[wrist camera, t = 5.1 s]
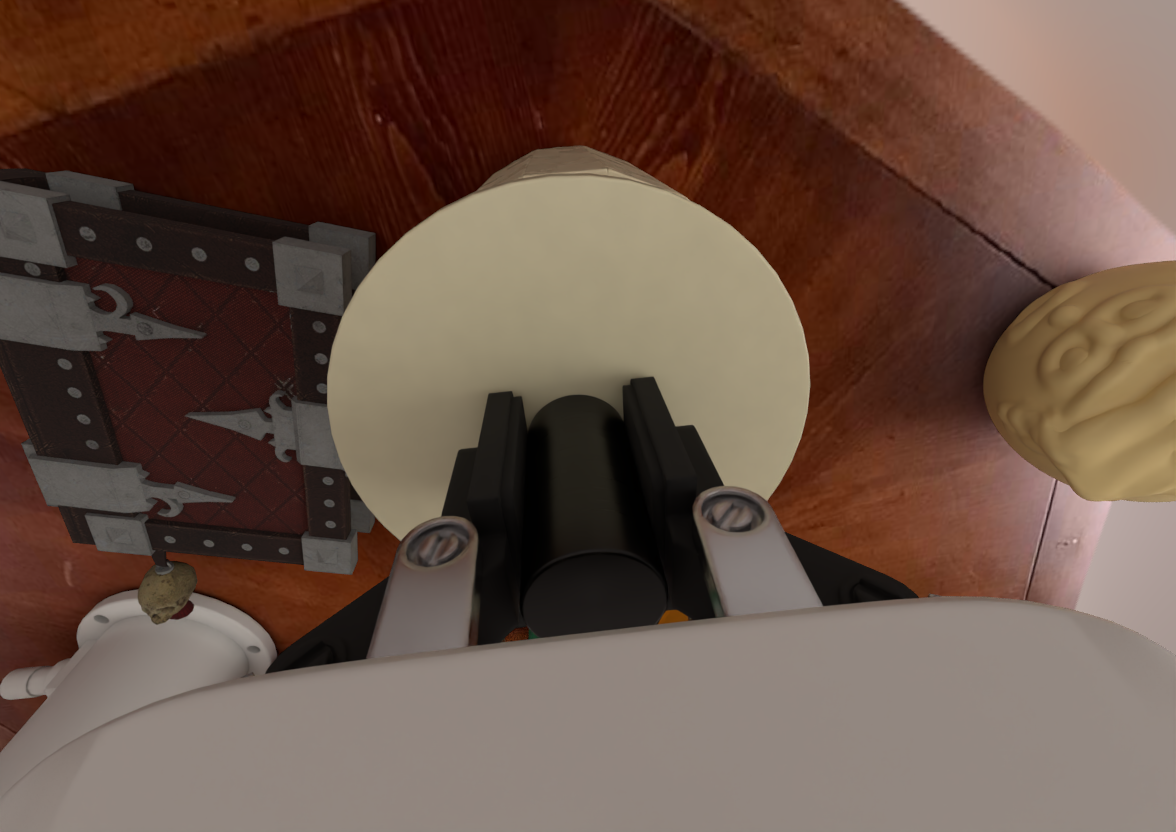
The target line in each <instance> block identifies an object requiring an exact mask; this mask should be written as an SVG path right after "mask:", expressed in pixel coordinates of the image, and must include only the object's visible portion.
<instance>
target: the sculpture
mask: <svg viewBox="0 0 1176 832" xmlns="http://www.w3.org/2000/svg"><path fill="white" fill-rule="evenodd" d="M983 391H984V399H985V403H986V407H987V410H988V413H989V415H990V417H991V419H992V421H993V423H994V425H995V427H996V428H997V430H998V431H999V433H1000V434H1001V436H1002V437H1003V438H1004V439H1005V441H1006V442H1007V443H1008V444H1009V445H1010V446H1011V447H1012V448H1013V449H1014V450H1015V451H1016V452H1017V453H1018V454H1019V455H1020V456H1021V457H1023V458H1024V459H1025V460H1026V461H1028V462H1029V463H1030V464H1032V465H1033V466H1035V467H1036V468H1038V469H1039V470H1041V471H1042V472H1044V473H1046V474H1047V475H1049V476H1051V477H1053V478H1055V479H1057V480H1059V481H1061V482H1063V483H1065V484H1067V485H1070V487H1071V488H1072V490H1073V491H1074V492H1075V493H1076V494H1077V495H1078V496H1080V497H1081V498H1083V499H1086V500H1089V501H1117V500H1127V501H1138V502H1170V501H1176V261H1162V262H1152V263H1143V264H1135V265H1128V266H1122V267H1117V268H1112V269H1108V270H1104V271H1101V272H1097V273H1094V274H1091V275H1088V276H1085V277H1083V278H1080V279H1078V280H1075V281H1073V282H1068V283H1065V284H1062V285H1060V286H1058V287H1056V288H1054V289H1053V290H1051V291H1049V292H1048V293H1046V294H1044V295H1043V296H1041V297H1040V298H1038V299H1037V300H1035V301H1034V302H1032V303H1031V304H1030V305H1028V306H1027V307H1026V308H1025V309H1024V310H1023V311H1022V312H1021V313H1020V314H1019V315H1018V316H1017V318H1016V319H1015V320H1014V321H1013V322H1012V323H1011V324H1010V326H1009V327H1008V328H1007V329H1006V330H1005V331H1004V333H1003V334H1002V335H1001V337H1000V338H999V340H998V341H997V343H996V345H995V346H994V348H993V350H992V352H991V354H990V356H989V359H988V362H987V365H986V368H985V373H984V380H983Z"/></svg>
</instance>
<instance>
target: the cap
mask: <svg viewBox="0 0 1176 832" xmlns="http://www.w3.org/2000/svg"><path fill="white" fill-rule="evenodd" d="M644 377H654V378H655V380H656V383H657V385H658V387H659V390H660V392H661V394H662V396H663V399H664V401H665V403H666V406H667V408H668V410H669V413H670V415H671V417H672V420H673V422H674V424H675V426H685V425H694V427H695V428H696V430H697V432H698V434H699V436H700V438H701V440H702V442H703V444H704V446H705V448H706V450H707V452H708V454H709V456H710V458H711V460H712V462H713V464H714V466H715V468H716V470H717V472H718V474H719V476H720V478H721V480H722V482H723V484H724V486H736V487H740V488H745V489H748V490H750V491H752V492H755V493H757V494H758V495H760V496H761V497H763V498H764V499H765V500H766V501H767V500H768V499H769V497H770V496H771V495H772V493H773V492H774V490H775V489H776V488H777V486H778V485H779V483H780V482H781V480H782V478H783V476H784V474H785V473H786V471H787V469H788V467H789V465H790V463H791V462H792V459H793V457H794V454H795V452H796V449H797V447H798V444H799V442H800V439H801V436H802V432H803V428H804V424H805V420H806V416H807V412H808V402H809V392H810V372H809V355H808V351H807V346H806V341H805V336H804V331H803V327H802V325H801V322H800V319H799V317H798V314H797V311H796V309H795V306H794V303H793V301H792V299H791V297H790V296H789V294H788V292H787V290H786V289H785V287H784V285H783V283H782V282H781V280H780V278H779V276H778V275H777V273H776V272H775V271H774V269H773V268H772V267H771V266H770V264H769V263H768V262H767V261H766V260H765V258H764V257H763V256H762V255H761V253H760V252H759V251H758V250H757V248H755V247H754V246H753V245H752V244H751V243H750V242H749V241H748V240H747V239H745V238H744V237H743V236H742V235H741V234H740V233H739V232H738V231H737V230H735V229H734V228H733V227H732V226H731V225H729V224H728V223H726V222H725V221H723V220H722V219H720V218H719V217H717V216H716V215H714V214H712V213H711V212H709V211H708V210H706V209H705V208H703V207H702V206H700V205H698V204H696V203H694V202H692V201H690V200H687V199H685V198H683V197H681V196H679V195H676V194H674V193H672V192H670V191H667V190H665V189H663V188H660V187H656V186H653V185H649V184H646V183H642V182H639V181H635V180H632V179H628V178H622V177H615V176H607V175H599V174H591V173H567V174H546V175H539V176H533V177H527V178H521V179H515V180H510V181H507V182H504V183H501V184H498V185H495V186H491V187H488V188H485V189H482V190H479V191H476V192H473V193H471V194H469V195H467V196H465V197H463V198H461V199H459V200H457V201H455V202H453V203H451V204H449V205H447V206H445V207H443V208H441V209H440V210H438V211H437V212H435V213H434V214H432V215H431V216H429V217H428V218H427V219H425V220H424V221H422V222H421V223H419V224H418V225H417V226H415V227H414V228H412V229H411V230H410V231H408V232H407V233H406V234H405V235H404V236H403V237H402V238H400V239H399V240H398V241H397V242H396V243H395V244H394V245H393V246H392V247H391V248H390V249H389V250H388V251H387V252H386V253H385V254H384V255H383V256H382V257H381V258H380V259H379V260H378V261H377V262H376V264H375V265H374V266H373V268H372V269H371V270H370V272H369V273H368V274H367V275H366V277H365V278H364V279H363V281H362V282H361V283H360V285H359V286H358V288H357V289H356V291H355V293H354V295H353V297H352V299H351V301H350V303H349V304H348V306H347V308H346V310H345V312H344V314H343V316H342V319H341V321H340V324H339V327H338V330H337V333H336V336H335V339H334V342H333V345H332V350H331V356H330V362H329V368H328V374H327V408H328V414H329V420H330V426H331V433H332V437H333V440H334V443H335V446H336V449H337V452H338V456H339V459H340V461H341V464H342V466H343V468H344V470H345V472H346V474H347V476H348V478H349V480H350V482H351V484H352V486H353V487H354V489H355V490H356V492H357V493H358V495H359V496H360V498H361V499H362V501H363V502H364V503H365V505H366V506H367V508H368V509H369V510H370V511H371V512H372V513H373V514H374V516H375V517H376V518H377V519H378V520H379V521H380V522H381V524H382V525H383V526H384V527H385V528H386V529H387V530H389V531H390V532H391V533H392V534H393V535H394V536H395V537H397V538H398V539H399V540H400V541H401V540H402V539H403V538H404V537H405V536H406V535H407V533H408V532H409V531H411V530H412V529H413V528H415V527H416V526H418V525H419V524H421V523H423V522H426V521H428V520H430V519H433V518H438V517H441V514H442V510H443V506H444V502H445V499H446V495H447V491H448V487H449V483H450V479H451V476H452V472H453V468H454V464H455V460H456V457H457V453H458V451H459V450H460V449H466V448H475V447H478V442H479V437H480V432H481V428H482V423H483V418H484V413H485V408H486V403H487V398H488V394H489V393H497V392H507V391H512V392H513V396H514V397H516V396H521V397H522V400H523V406H524V412H525V419H526V425H527V431H528V445H527V465H526V485H525V505H524V525H523V544H522V561H521V581H520V601H519V606H520V612H521V615H522V618H523V620H524V622H525V623H526V625H527V627H528V628H529V629H530V630H531V631H532V632H533V633H534V634H535V635H536V636H537V637H539V638H546V637H554V636H563V635H571V634H580V633H588V632H597V631H606V630H614V629H623V628H632V627H640V626H649V625H655V624H656V623H657V622H658V621H659V620H660V618H661V617H662V615H663V613H664V611H665V609H666V606H667V602H668V595H669V592H668V585H667V581H666V577H665V574H664V570H663V566H662V563H661V559H660V555H659V551H658V548H657V544H656V540H655V537H654V534H653V531H652V527H651V523H650V519H649V516H648V512H647V508H646V504H645V501H644V497H643V493H642V489H641V486H640V482H639V478H638V474H637V471H636V467H635V463H634V459H633V456H632V452H631V448H630V444H629V441H628V437H627V433H626V429H625V426H624V414H623V392H622V388H623V385H630V380H631V379H634V378H644Z"/></svg>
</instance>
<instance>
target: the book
mask: <svg viewBox="0 0 1176 832" xmlns="http://www.w3.org/2000/svg"><path fill="white" fill-rule="evenodd" d="M375 248H376V233H372V232H367V231H362V230H357V229H352V228H347V227H342V226H338V225H333V224H328V223H323V222H316V223H314V224H311V225H305V224H300V223H295V222H290V221H285V220H280V219H275V218H270V217H265V216H260V215H255V214H250V213H245V212H240V211H235V210H230V209H225V208H220V207H215V206H210V205H205V204H200V203H195V202H190V201H185V200H180V199H175V198H170V197H165V196H160V195H155V194H150V193H145V192H140V191H135V190H134V186H133V184H130V183H125V182H120V181H115V180H110V179H105V178H100V177H95V176H90V175H85V174H80V173H75V172H70V171H59V172H50V173H45V172H40V171H35V170H30V169H0V367H1V370H2V372H3V374H4V377H5V379H6V382H7V384H8V386H9V389H10V391H11V394H12V396H13V399H14V401H15V403H16V406H17V408H18V411H19V413H20V415H21V418H22V420H23V423H24V425H25V428H26V430H27V432H28V435H29V437H30V439H28V440H26V441H25V442H23V443H21V444H22V447H23V449H24V451H25V454H26V456H27V458H28V461H29V463H30V465H31V468H32V470H33V473H34V475H35V477H36V480H37V482H38V484H39V487H40V489H41V491H42V494H43V496H44V498H45V501H46V503H47V505H48V506H55V507H59V510H60V512H61V515H62V517H63V519H64V522H65V524H66V527H67V529H68V532H69V534H70V536H71V539H72V541H73V543H82V544H93V545H96V546H97V549H98V551H107V552H118V553H129V554H139V555H150V556H152V558H153V560H154V562H155V564H156V565H154V566H152V568H151V569H150V570H149V571H148V572H147V573H146V574H145V577H144V579H143V581H142V583H141V586H140V588H139V590H138V602H139V604H140V605H141V609H142V611H143V612H145V613H146V614H147V615H148V616H149V617H150V618H151V621H152V622H153V623H154V624H156V625H159V624H162V623H165V622H166V621H168V620H169V619H174V620H179V619H182V618H184V617H187V616H188V615H189V614H190V613H191V612H192V611H193V609H194V604H193V603H192V602H191V601H190V600H189V598H190V596H191V594H192V592H193V591H194V589H195V587H196V584H197V577H196V573H195V570H194V568H193V567H192V566H190V565H188V564H187V563H183V562H177V561H169V560H168V559H166V552H176V553H186V554H196V555H207V556H217V557H228V558H238V559H248V560H259V561H269V562H279V563H290V564H300V565H304V570H308V571H319V572H329V573H340V574H350V575H352V573H353V570H354V568H355V566H356V564H357V561H358V551H357V532H364V533H370V531H371V529H372V527H373V525H374V522H375V516H374V514H373V513H372V512H371V511H370V510H369V509H368V508H367V506H366V505H365V503H364V502H363V501H362V499H361V498H360V496H359V495H358V493H357V492H356V490H355V489H354V487H353V486H352V484H351V482H350V480H349V478H348V476H347V474H346V472H345V470H344V468H343V466H342V464H341V461H340V459H339V456H338V452H337V449H336V446H335V443H334V440H333V437H332V433H331V426H330V420H329V414H328V408H327V374H328V368H329V362H330V356H331V350H332V345H333V342H334V339H335V336H336V333H337V330H338V327H339V324H340V321H341V319H342V316H343V314H344V312H345V310H346V308H347V306H348V304H349V303H350V301H351V299H352V297H353V295H354V293H355V291H356V289H357V288H358V286H359V285H360V283H361V282H362V281H363V279H364V278H365V277H366V275H367V274H368V273H369V272H370V270H371V269H372V268H373V266H374V265H375Z"/></svg>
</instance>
